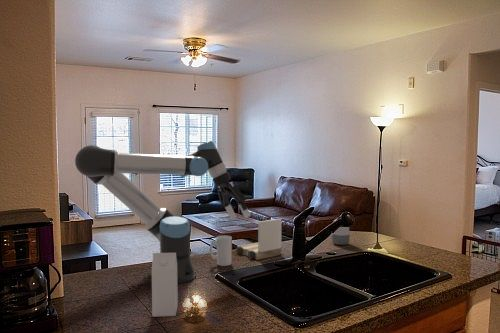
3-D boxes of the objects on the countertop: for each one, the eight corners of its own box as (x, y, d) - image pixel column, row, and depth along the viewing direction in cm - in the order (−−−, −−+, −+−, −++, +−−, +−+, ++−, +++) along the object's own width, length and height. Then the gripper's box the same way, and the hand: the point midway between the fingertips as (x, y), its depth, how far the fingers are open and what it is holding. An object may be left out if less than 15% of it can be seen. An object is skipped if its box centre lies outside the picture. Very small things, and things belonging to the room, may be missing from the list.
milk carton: (155, 307, 132) (154, 250, 131) (177, 307, 133) (177, 249, 132) (152, 317, 125) (151, 256, 124) (175, 316, 126) (174, 255, 125)
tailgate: (257, 253, 187) (257, 221, 186) (280, 248, 195) (280, 218, 194) (259, 253, 186) (259, 222, 185) (281, 249, 194) (281, 218, 193)
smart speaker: (328, 242, 220) (329, 216, 219) (344, 241, 222) (344, 216, 221) (336, 246, 211) (336, 220, 210) (352, 245, 213) (353, 219, 212)
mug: (229, 261, 185) (228, 234, 184) (234, 265, 179) (233, 238, 178) (207, 263, 181) (207, 236, 181) (211, 267, 175) (211, 240, 174)
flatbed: (234, 252, 199) (234, 245, 199) (262, 247, 209) (262, 240, 209) (254, 260, 186) (254, 252, 186) (282, 254, 197) (282, 246, 196)
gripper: (239, 166, 170) (261, 211, 171) (215, 175, 192) (234, 215, 193) (224, 173, 166) (247, 220, 168) (202, 182, 188) (222, 223, 189)
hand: (240, 217), depth 180 cm, fingers open, 13 cm apart
